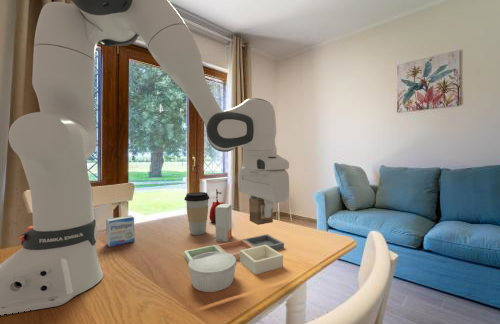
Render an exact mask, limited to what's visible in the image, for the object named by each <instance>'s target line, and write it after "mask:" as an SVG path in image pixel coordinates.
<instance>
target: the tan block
mask: <svg viewBox="0 0 500 324" xmlns="http://www.w3.org/2000/svg"><path fill="white" fill-rule="evenodd" d="M248 200H249V201H248V202H249V203H248V205H249V222H252V223H253V224H256V225H257V226H260V225H265V224H266V225H267V224H270V223H273V221H274V215H273V214H274V213H273V212H274V209H273V207H272V209H271V216H270V217H265V216H263V215H262V213H263V212H262V209H264V207H265V203H264V199H261V198H258V197H257V198H251V199H249V198H248Z"/></svg>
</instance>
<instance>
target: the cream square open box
mask: <svg viewBox="0 0 500 324" xmlns="http://www.w3.org/2000/svg"><path fill="white" fill-rule="evenodd" d="M239 262H240V263H241V264H242V265H243V266H244V267H246V269H247V270H249V271H250V272H251V273H252V274H254V275H255V276H256V275H259V274H262V273H265V272H270V271H274V270H276V269H280V268H284V255H283V254H281V253H280V252H279V251H277V250H274V249H272V248H270V247H269V246H267V245H262V246H257V247H253V248H249V249H244V250H240V259H239Z"/></svg>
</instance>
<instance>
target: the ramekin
mask: <svg viewBox="0 0 500 324" xmlns="http://www.w3.org/2000/svg"><path fill="white" fill-rule="evenodd" d="M187 263H188V262H187ZM236 266H237V260H236V258H235V257H234V256H233V255H231V254H229V253H225V252H208V253H203V254H199V255H197V256H195V257H193V258H192V259H191V260H190V261H189V263H188V266H187V267H188V268H187V270H188V271H189V277H190V281H191V285H192V287H193V288H194V289H196V290H197V291H200V292H203V293H204V292H205V293H206V292H207V293H211V292H213V293H214V292H219V291H223V290H225V289H226V288H229V286H231V285H232V284H233V282H234V280H235V279H234V278H235V272H236Z"/></svg>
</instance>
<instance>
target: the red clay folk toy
mask: <svg viewBox="0 0 500 324" xmlns="http://www.w3.org/2000/svg"><path fill="white" fill-rule="evenodd" d="M215 189H216V188H215ZM215 191H216V196H215V198H216V201H213V202H211V203H212V204H211V207H210V209H209V218H208V219H209V221H210V222H211V223H214V224H216V217H215V208H216V207H217V206H218V205H220V204H225V203H224V202H223V201H221V202H220V201H219V199H218V195H219V194H220V195H222V192H221V191H218V188H217V189H216V190H215Z"/></svg>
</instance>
